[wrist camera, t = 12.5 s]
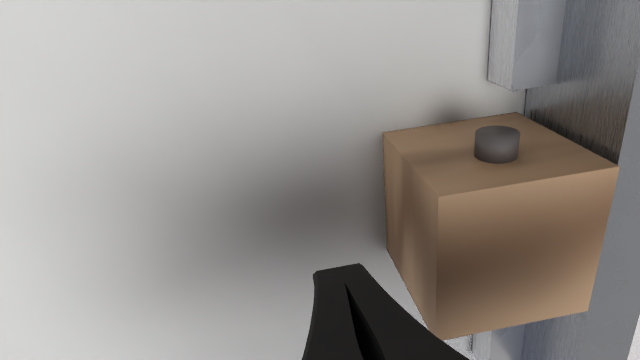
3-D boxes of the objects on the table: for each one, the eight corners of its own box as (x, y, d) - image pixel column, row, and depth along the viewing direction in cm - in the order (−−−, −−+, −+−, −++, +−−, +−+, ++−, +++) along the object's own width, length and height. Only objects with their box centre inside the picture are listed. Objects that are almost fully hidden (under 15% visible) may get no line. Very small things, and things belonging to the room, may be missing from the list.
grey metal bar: (540, 336, 22) (610, 421, 17) (471, 351, 21) (526, 441, 17) (595, -28, 14) (732, -26, 10) (492, -14, 14) (594, -7, 10)
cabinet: (503, 227, 18) (587, 311, 14) (386, 248, 18) (435, 342, 13) (517, 92, 16) (625, 141, 11) (381, 112, 15) (439, 172, 11)
